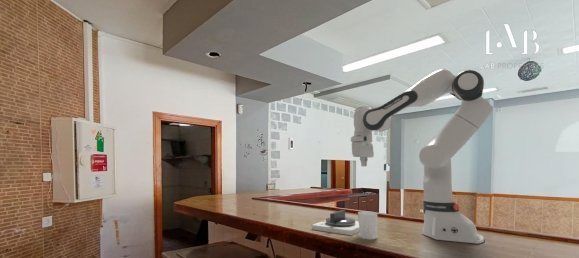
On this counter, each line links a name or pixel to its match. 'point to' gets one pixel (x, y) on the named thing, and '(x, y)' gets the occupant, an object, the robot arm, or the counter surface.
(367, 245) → the counter surface
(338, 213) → the dial
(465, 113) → the robot arm
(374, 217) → the white cup
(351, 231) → the dial panel
